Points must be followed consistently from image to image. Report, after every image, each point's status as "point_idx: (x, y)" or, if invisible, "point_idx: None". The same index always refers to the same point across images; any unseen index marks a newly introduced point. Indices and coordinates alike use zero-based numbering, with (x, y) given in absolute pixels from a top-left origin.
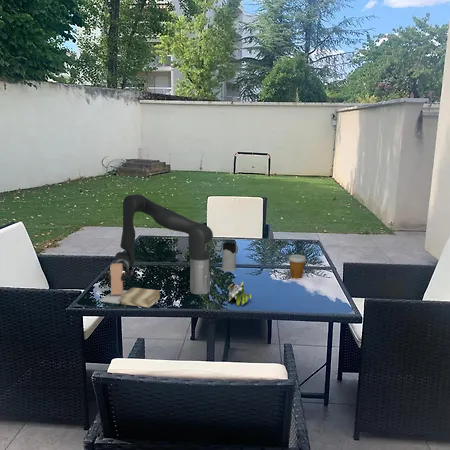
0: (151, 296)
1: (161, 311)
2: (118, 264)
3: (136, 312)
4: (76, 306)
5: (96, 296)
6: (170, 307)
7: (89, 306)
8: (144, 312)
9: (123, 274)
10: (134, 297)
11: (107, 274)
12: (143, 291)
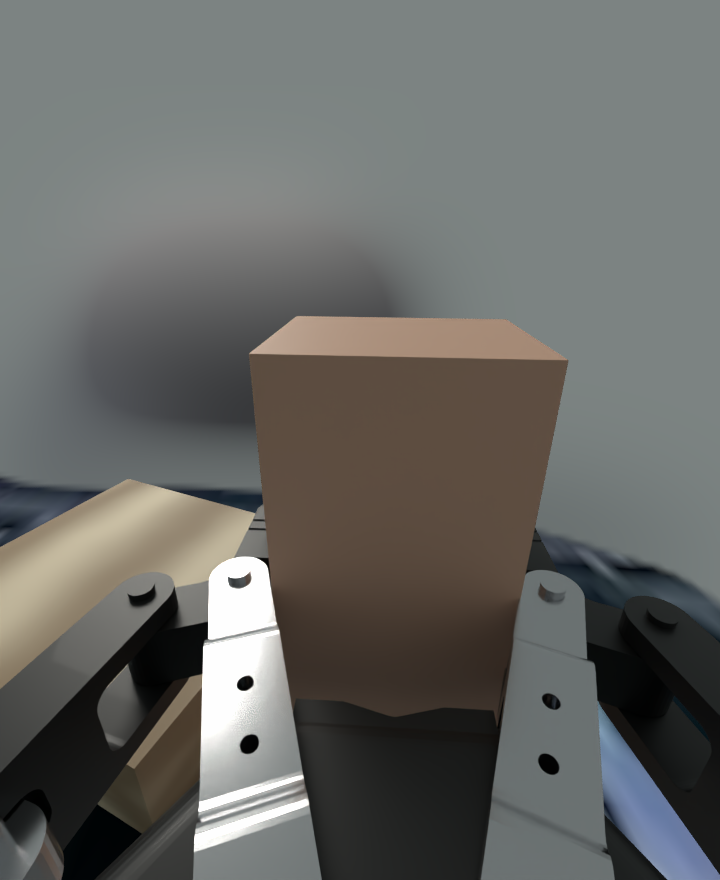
0: (83, 507)
1: (101, 491)
2: (355, 335)
3: (243, 492)
4: (672, 583)
5: (693, 854)
6: (7, 524)
7: (568, 575)
8: (199, 489)
9: (264, 539)
10: (221, 505)
11: (609, 606)
12: (75, 602)
